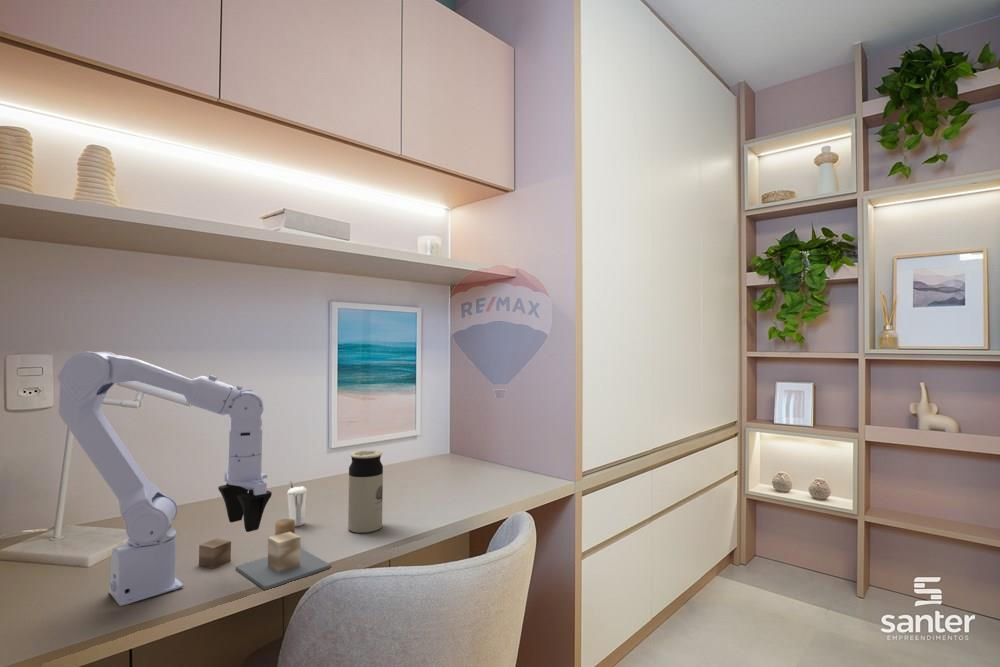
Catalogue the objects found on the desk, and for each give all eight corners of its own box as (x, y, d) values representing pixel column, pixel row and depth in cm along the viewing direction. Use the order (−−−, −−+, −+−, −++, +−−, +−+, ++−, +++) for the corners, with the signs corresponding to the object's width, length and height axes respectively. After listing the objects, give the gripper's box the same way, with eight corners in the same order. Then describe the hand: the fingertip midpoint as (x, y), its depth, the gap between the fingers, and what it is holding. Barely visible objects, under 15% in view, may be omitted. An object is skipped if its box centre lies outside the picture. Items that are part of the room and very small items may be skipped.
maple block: (278, 572, 99) (278, 543, 99) (267, 565, 102) (268, 537, 102) (300, 565, 102) (300, 536, 102) (289, 559, 105) (289, 531, 105)
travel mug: (341, 530, 123) (342, 454, 124) (362, 520, 130) (363, 448, 131) (368, 536, 120) (369, 457, 120) (388, 525, 127) (389, 451, 128)
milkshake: (298, 519, 131) (299, 479, 131) (310, 524, 128) (310, 483, 128) (281, 524, 128) (282, 483, 128) (292, 529, 124) (293, 487, 124)
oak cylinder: (280, 549, 111) (280, 526, 112) (271, 544, 114) (272, 522, 114) (297, 544, 114) (298, 521, 115) (289, 540, 117) (289, 517, 117)
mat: (264, 590, 93) (264, 586, 93) (235, 569, 101) (235, 566, 101) (331, 567, 102) (331, 564, 102) (299, 550, 111) (299, 547, 111)
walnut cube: (213, 568, 102) (213, 548, 102) (198, 565, 103) (199, 545, 104) (230, 560, 106) (231, 541, 106) (216, 557, 107) (216, 538, 107)
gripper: (283, 456, 98) (281, 529, 97) (250, 446, 107) (249, 512, 107) (244, 462, 92) (242, 539, 92) (214, 451, 102) (212, 520, 102)
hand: (243, 525), depth 99 cm, fingers open, 7 cm apart
